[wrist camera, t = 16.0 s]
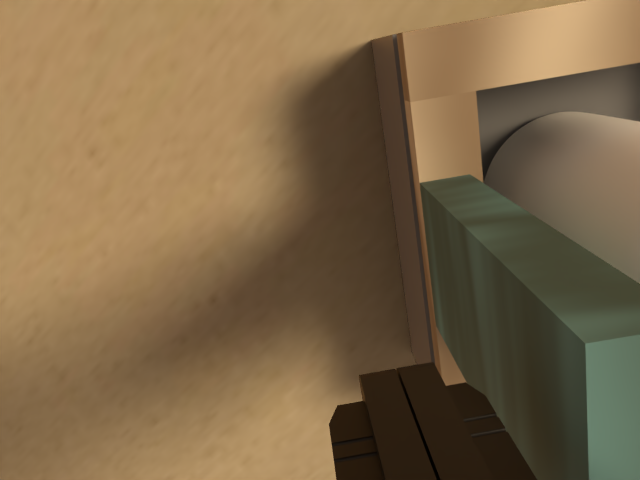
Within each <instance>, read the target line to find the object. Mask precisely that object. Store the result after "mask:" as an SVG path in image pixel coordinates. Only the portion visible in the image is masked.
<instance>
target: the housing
mask: <svg viewBox="0 0 640 480" xmlns="http://www.w3.org/2000/svg"><path fill="white" fill-rule="evenodd" d="M371 42H372V50H373V57H374V65H375V73H376V80H377V88H378V96H379V103H380V111H381V119H382V126H383V134H384V142H385V149H386V157H387V164H388V172H389V180H390V187H391V195H392V203H393V210H394V218H395V226H396V233H397V241H398V249H399V256H400V264H401V272H402V279H403V287H404V295H405V302H406V310H407V318H408V325H409V333H410V341H411V348H412V353H413V356H414V358H415V361H416V363H417V365H418V364H424V363H429V362H433V363H434V364H435V358H434V350H433V341H432V333H431V324H430V316H429V307H428V299H427V290H426V282H425V273H424V265H423V256H422V248H421V239H420V231H419V222H418V214H417V205H416V196H415V188H414V179H413V171H412V162H411V154H410V145H409V137H408V128H407V120H406V111H405V103H404V94H403V86H402V77H401V69H400V60H399V52H398V43H397V35H396V34H394V35H390V36H386V37H382V38H378V39H374V40H371ZM476 97H477V109H478V122H479V135H480V147H481V160H482V172H483V183H484V181H485V177H486V174H487V171H488V168H489V166H490V164H491V162H492V160H493V158H494V156H495V155H496V153H497V152H498V150H499V149H500V148H501V146H502V145H503V144H504V143H505V142H506V140H507V139H508V138H509V137H510V136H512V135H513V134H514V133H515V132H516V131H517V130H519V129H520V128H522V127H523V126H525V125H526V124H528V123H530V122H531V121H533V120H536V119H538V118H540V117H543V116H546V115H549V114H553V113H559V112H584V113H591V114H598V115H604V116H610V117H616V118H622V119H627V120H633V121H639V122H640V63H634V64H628V65H622V66H617V67H611V68H605V69H599V70H594V71H588V72H582V73H576V74H570V75H565V76H559V77H553V78H547V79H542V80H536V81H530V82H524V83H519V84H513V85H507V86H501V87H495V88H490V89H484V90H478V91H476Z"/></svg>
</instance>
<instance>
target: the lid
mask: <svg viewBox="0 0 640 480" xmlns="http://www.w3.org/2000/svg"><path fill="white" fill-rule="evenodd" d="M396 35H397V43H398V52H399V60H400V69H401V77H402V86H403V94H404V103H405V111H406V120H407V128H408V137H409V145H410V154H411V162H412V171H413V179H414V188H415V196H416V205H417V214H418V222H419V231H420V239H421V248H422V256H423V265H424V273H425V282H426V290H427V299H428V307H429V316H430V324H431V333H432V341H433V350H434V358H435V366H436V368H437V369H438V371H439V373H440V375H441V377H442V379H443V381H444V383H445V385H446V386H448V385H453V384H459V383H464V382H466V383H467V384H469V385H470V386H472V387H473V388H475V389H476V390H478V391H480V392H481V393H483V394H484V395H485V396H486V397H487V399H488V400H489V402H490V404H491V405H492V407H493V409H494V410H495V412H496V415H497V417H499V418H500V420H501V422H502V423H503V425H504V426H505V429H506V432H508V433H509V435H510V436H511V438H512V440H513V441H514V443H515V444H516V446H517V448H518V449H519V451H520V453H521V454H522V456H523V457H524V459H525V461H526V462H527V464H528V466H529V467H530V469H531V470H532V472H533V474H534V475H535V477H536V479H537V480H640V284H639V283H638V282H636V281H635V280H633V279H632V278H630V277H629V276H627V275H625V274H624V273H622V272H621V271H619V270H618V269H616V268H615V267H613V266H612V265H610V264H608V263H607V262H605V261H604V260H602V259H601V258H599V257H598V256H596V255H594V254H593V253H591V252H590V251H588V250H587V249H585V248H584V247H582V246H580V245H579V244H577V243H576V242H574V241H573V240H571V239H570V238H568V237H567V236H565V235H563V234H562V233H560V232H559V231H557V230H556V229H554V228H553V227H551V226H549V225H548V224H546V223H545V222H543V221H542V220H540V219H539V218H537V217H536V216H534V215H532V214H531V213H529V212H528V211H526V210H525V209H523V208H522V207H520V206H518V205H517V204H515V203H514V202H512V201H511V200H509V199H508V198H506V197H504V196H503V195H501V194H500V193H498V192H497V191H495V190H494V189H492V188H491V187H489V186H487V185H486V184H484V183H483V172H482V160H481V147H480V135H479V122H478V109H477V97H476V91H478V90H484V89H490V88H495V87H501V86H507V85H513V84H519V83H524V82H530V81H536V80H542V79H547V78H553V77H559V76H565V75H570V74H576V73H582V72H588V71H594V70H599V69H605V68H611V67H617V66H622V65H628V64H634V63H640V0H586V1H580V2H574V3H569V4H563V5H557V6H552V7H546V8H540V9H534V10H529V11H523V12H517V13H511V14H506V15H500V16H494V17H488V18H483V19H477V20H471V21H465V22H460V23H454V24H448V25H442V26H437V27H431V28H425V29H419V30H414V31H408V32H402V33H398V34H396Z"/></svg>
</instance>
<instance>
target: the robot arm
mask: <svg viewBox="0 0 640 480" xmlns="http://www.w3.org/2000/svg"><path fill="white" fill-rule="evenodd" d="M359 380H360V387H361V393H362V399H363V401H360V402H355V403H349V404H344V405H338V406H337V408H336V410H335V412H334V414H333V416H332V419H331V421H330V423H329V427H330V435H331V442H332V449H333V457H334V464H335V472H336V479H337V480H537V479H536V477H535V475H534V474H533V472H532V470H531V469H530V467H529V466H528V464H527V462H526V461H525V459H524V457H523V456H522V454H521V453H520V451H519V449H518V448H517V446H516V444H515V443H514V441H513V440H512V438H511V436H510V435H509V433H508V432H506V429H505V426H504V425H503V423H502V422H501V420H500V418H499V417H497V415H496V412H495V410H494V409H493V407H492V405H491V404H490V402H489V400H488V399H487V397H486V396H485V395H484V394H483V393H481V392H480V391H478V390H476V389H475V388H473V387H472V386H470V385H469V384H467V383H466V382H464V383H459V384H453V385H448V386H446V385H445V383H444V381H443V379H442V377H441V375H440V373H439V371H438V369H437V368H436V366H435V364H434V363H433V362H429V363H424V364H418V365H412V366H407V367H401V368H397V369H396V370H395V369H391V370H385V371H380V372H374V373H369V374H363V375H359Z"/></svg>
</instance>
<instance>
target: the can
mask: <svg viewBox="0 0 640 480" xmlns="http://www.w3.org/2000/svg"><path fill="white" fill-rule="evenodd" d="M484 184H486V185H487V186H489V187H491V188H492V189H494V190H495V191H497V192H498V193H500V194H501V195H503V196H504V197H506V198H508V199H509V200H511V201H512V202H514V203H515V204H517V205H518V206H520V207H522V208H523V209H525V210H526V211H528V212H529V213H531V214H532V215H534V216H536V217H537V218H539V219H540V220H542V221H543V222H545V223H546V224H548V225H549V226H551V227H553V228H554V229H556V230H557V231H559V232H560V233H562V234H563V235H565V236H567V237H568V238H570V239H571V240H573V241H574V242H576V243H577V244H579V245H580V246H582V247H584V248H585V249H587V250H588V251H590V252H591V253H593V254H594V255H596V256H598V257H599V258H601V259H602V260H604V261H605V262H607V263H608V264H610V265H612V266H613V267H615V268H616V269H618V270H619V271H621V272H622V273H624V274H625V275H627V276H629V277H630V278H632V279H633V280H635V281H636V282H638V283H639V284H640V122H639V121H633V120H627V119H622V118H616V117H610V116H604V115H598V114H591V113H584V112H559V113H553V114H549V115H546V116H543V117H540V118H538V119H536V120H533V121H531V122H530V123H528V124H526V125H525V126H523V127H522V128H520V129H519V130H517V131H516V132H515V133H514V134H513V135H512V136H510V137H509V138H508V139H507V140H506V142H505V143H504V144H503V145H502V146H501V148H500V149H499V150H498V152H497V153H496V155H495V156H494V158H493V160H492V162H491V164H490V166H489V168H488V171H487V174H486V177H485V181H484Z"/></svg>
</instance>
